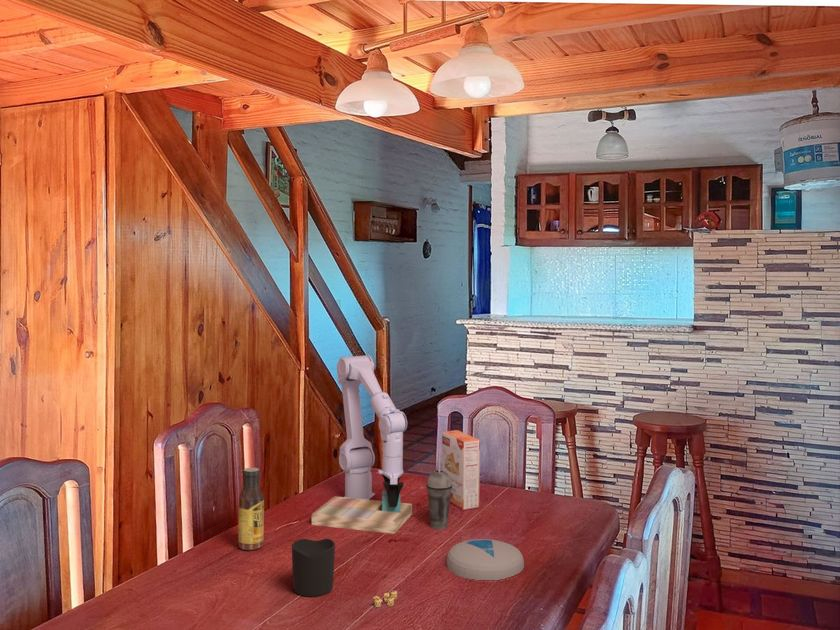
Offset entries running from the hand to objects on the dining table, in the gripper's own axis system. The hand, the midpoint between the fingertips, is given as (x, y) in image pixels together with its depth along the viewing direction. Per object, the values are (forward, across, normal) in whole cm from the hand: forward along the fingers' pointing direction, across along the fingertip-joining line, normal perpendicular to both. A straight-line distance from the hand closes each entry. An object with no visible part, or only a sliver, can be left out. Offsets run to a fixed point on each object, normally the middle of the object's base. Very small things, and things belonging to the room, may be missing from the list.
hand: (392, 502), depth 209 cm
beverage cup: (+5, +8, +12) cm, 16 cm away
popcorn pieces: (+5, +53, -4) cm, 53 cm away
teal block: (+3, 0, 0) cm, 4 cm away
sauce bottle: (+5, +20, -37) cm, 42 cm away
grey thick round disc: (+5, +35, +21) cm, 41 cm away
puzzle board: (+4, +1, -8) cm, 9 cm away
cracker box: (+5, -12, +21) cm, 25 cm away
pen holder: (+5, +45, -20) cm, 49 cm away
